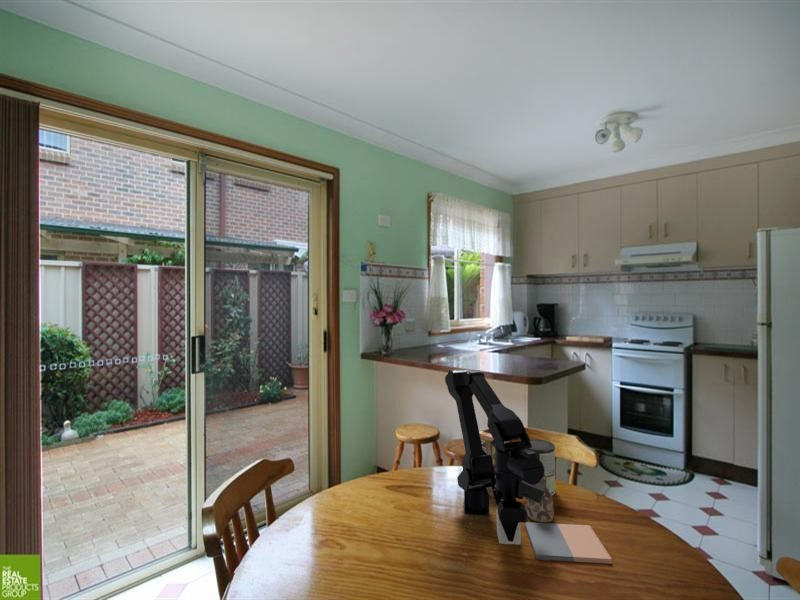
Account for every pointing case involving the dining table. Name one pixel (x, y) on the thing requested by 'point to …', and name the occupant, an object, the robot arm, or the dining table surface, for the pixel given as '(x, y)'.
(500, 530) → the cream block
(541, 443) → the coffee can
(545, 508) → the figurine
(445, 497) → the dining table surface
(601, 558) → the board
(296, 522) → the dining table surface
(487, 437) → the candy box
